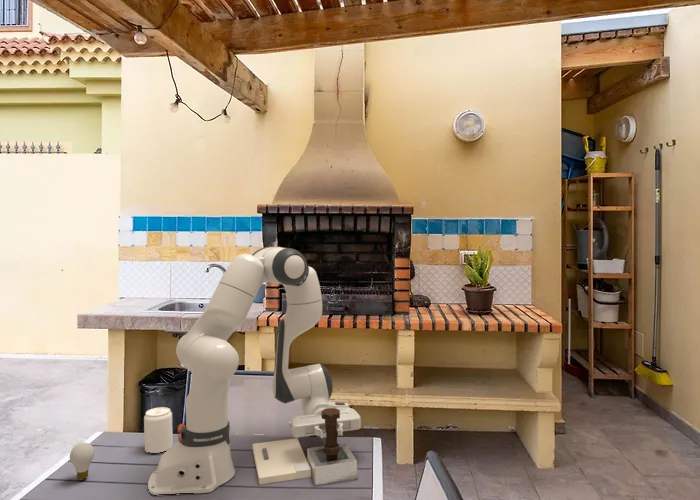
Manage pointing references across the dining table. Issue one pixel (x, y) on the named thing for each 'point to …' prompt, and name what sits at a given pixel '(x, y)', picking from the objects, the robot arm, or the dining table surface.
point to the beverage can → (158, 430)
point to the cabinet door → (280, 461)
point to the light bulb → (82, 459)
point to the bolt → (331, 433)
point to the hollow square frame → (332, 465)
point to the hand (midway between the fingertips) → (332, 434)
